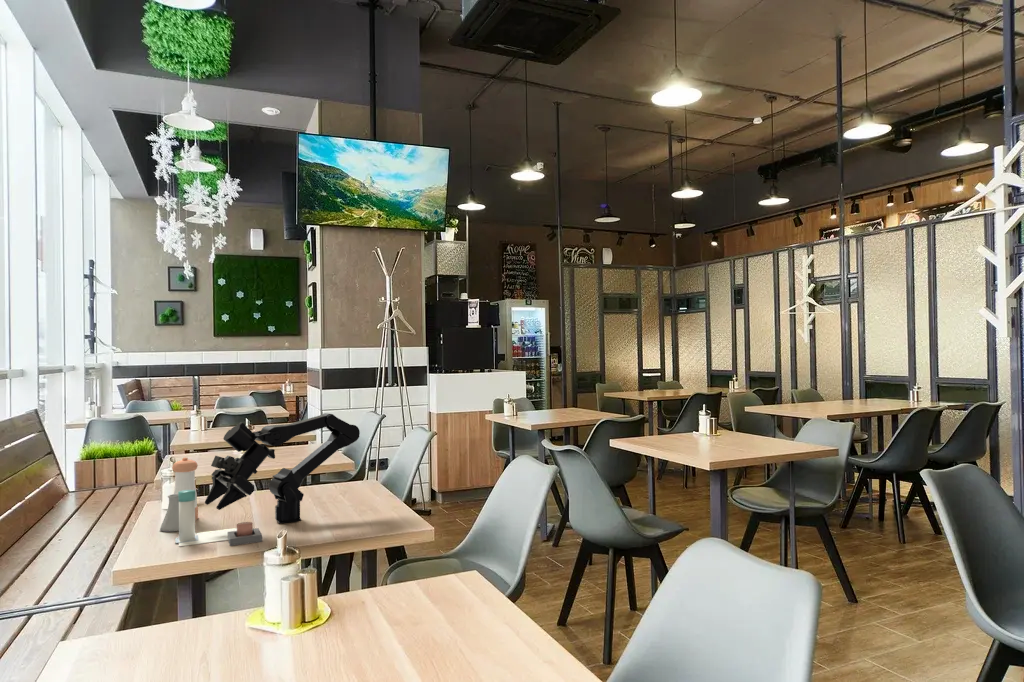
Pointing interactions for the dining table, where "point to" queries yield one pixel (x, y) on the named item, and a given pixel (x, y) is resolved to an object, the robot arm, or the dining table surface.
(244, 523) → the button
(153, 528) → the dining table surface
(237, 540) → the button collar
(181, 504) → the marker
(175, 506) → the flask
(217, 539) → the paper
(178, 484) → the pepper shaker
